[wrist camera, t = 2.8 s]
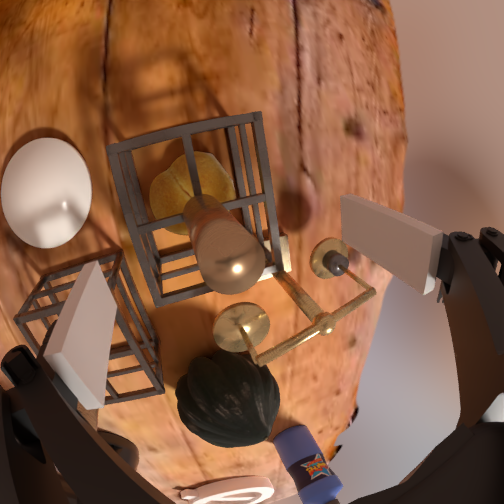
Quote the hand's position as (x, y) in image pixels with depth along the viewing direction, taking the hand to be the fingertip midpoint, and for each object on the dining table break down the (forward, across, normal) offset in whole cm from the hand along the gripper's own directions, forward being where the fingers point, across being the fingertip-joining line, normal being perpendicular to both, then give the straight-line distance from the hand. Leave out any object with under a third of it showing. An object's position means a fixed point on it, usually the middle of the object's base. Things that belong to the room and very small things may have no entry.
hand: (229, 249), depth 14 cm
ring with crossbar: (+17, -16, -90) cm, 93 cm away
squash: (+18, -3, -27) cm, 33 cm away
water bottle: (+17, +7, -59) cm, 62 cm away
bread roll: (+18, 0, 0) cm, 18 cm away
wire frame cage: (+18, 0, 0) cm, 18 cm away
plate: (+17, -16, +5) cm, 24 cm away
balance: (+18, +7, -10) cm, 21 cm away
